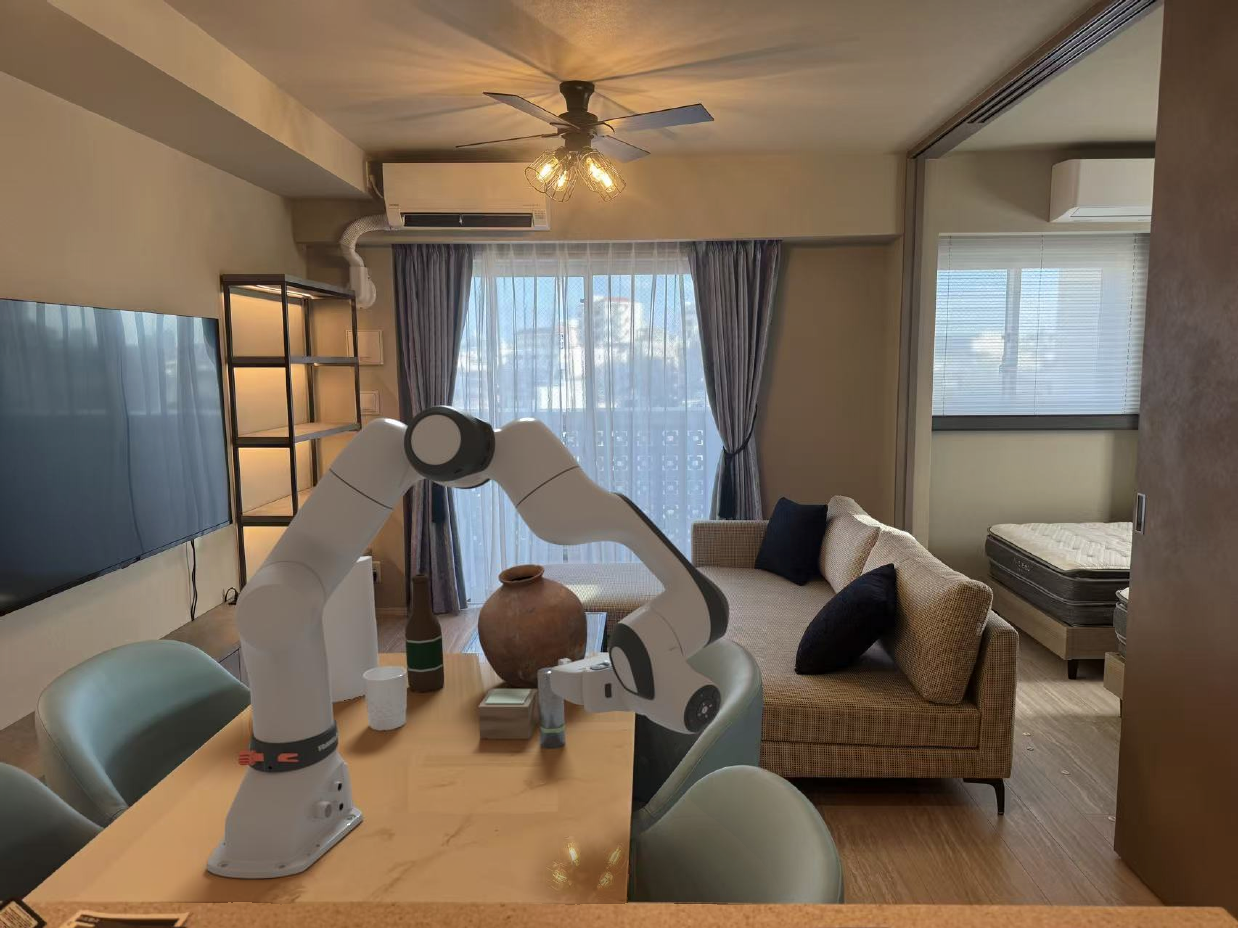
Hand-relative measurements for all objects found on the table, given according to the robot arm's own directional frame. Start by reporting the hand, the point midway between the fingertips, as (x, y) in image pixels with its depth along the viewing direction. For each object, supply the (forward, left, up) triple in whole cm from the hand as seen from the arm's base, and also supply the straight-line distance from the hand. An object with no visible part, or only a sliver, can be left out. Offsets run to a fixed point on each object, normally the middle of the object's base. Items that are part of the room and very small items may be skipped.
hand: (586, 657), depth 142 cm
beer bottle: (+37, +40, -19) cm, 58 cm away
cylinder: (+36, +59, -19) cm, 72 cm away
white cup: (+17, +41, -19) cm, 48 cm away
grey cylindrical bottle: (+9, +8, -19) cm, 22 cm away
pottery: (+39, +17, -19) cm, 47 cm away
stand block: (+15, +17, -19) cm, 29 cm away
